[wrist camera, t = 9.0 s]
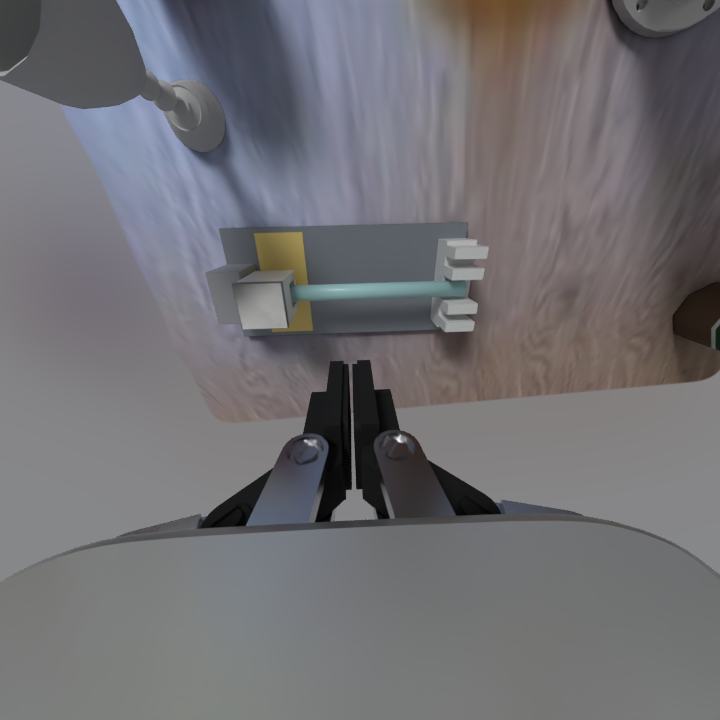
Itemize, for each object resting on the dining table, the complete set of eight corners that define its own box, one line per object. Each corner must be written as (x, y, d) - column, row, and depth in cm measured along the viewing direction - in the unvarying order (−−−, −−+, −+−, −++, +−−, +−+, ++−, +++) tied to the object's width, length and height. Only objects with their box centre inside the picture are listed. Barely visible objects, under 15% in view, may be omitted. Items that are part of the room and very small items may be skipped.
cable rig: (465, 222, 29) (493, 223, 24) (450, 326, 35) (470, 347, 29) (221, 228, 29) (191, 231, 23) (246, 334, 34) (227, 356, 29)
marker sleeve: (294, 269, 28) (281, 282, 23) (299, 307, 30) (288, 328, 25) (254, 270, 28) (231, 284, 23) (262, 308, 30) (242, 330, 24)
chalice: (197, 181, 27) (-27, 127, 11) (136, 103, 24) (-291, -128, 8) (253, 130, 25) (88, -22, 9) (195, 40, 22) (-192, -409, 6)
